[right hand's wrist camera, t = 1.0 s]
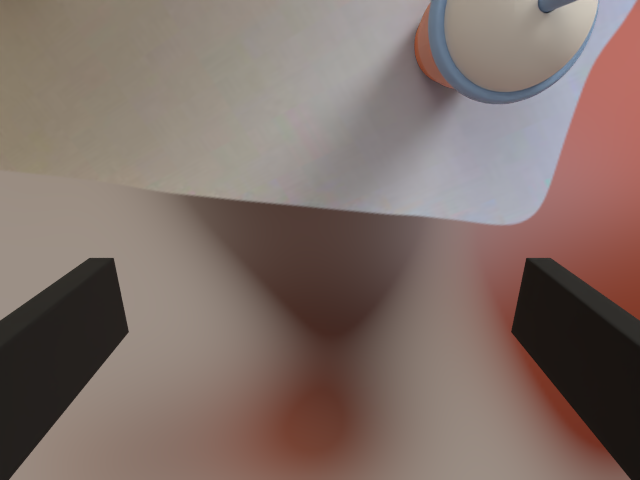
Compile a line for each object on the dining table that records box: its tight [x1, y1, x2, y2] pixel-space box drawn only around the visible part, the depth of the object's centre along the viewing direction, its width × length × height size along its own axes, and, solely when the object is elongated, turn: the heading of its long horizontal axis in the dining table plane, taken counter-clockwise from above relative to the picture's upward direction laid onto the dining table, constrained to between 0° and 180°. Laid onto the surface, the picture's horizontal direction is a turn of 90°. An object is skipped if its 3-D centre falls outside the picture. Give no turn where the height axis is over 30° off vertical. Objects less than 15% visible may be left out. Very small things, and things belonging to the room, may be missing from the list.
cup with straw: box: [415, 0, 599, 104], centre depth 22 cm, size 9×9×18 cm
